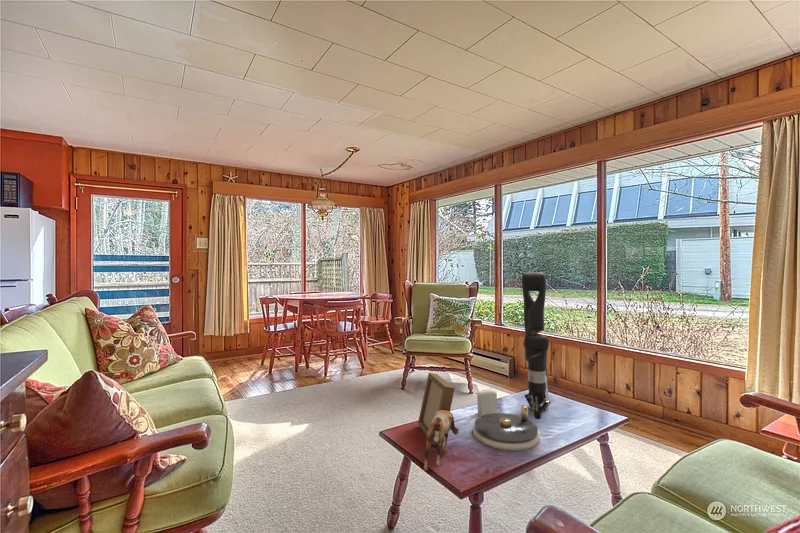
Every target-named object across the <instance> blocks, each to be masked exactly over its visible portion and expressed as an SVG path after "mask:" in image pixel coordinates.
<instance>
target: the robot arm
mask: <svg viewBox="0 0 800 533" xmlns="http://www.w3.org/2000/svg"><path fill="white" fill-rule="evenodd" d="M521 287H522V295H523V298H522V299H523V322H524V323H523V325H524V334H525V336H524V339H523V347H524V356H525V360H526V361H527V362H528V365H527V366H528V370H527V371H528V372H527V389H528V393H526V394H524V397H525V399H526V401H527V404H528V409H531V410H533V416H534V419H535V420H538V421H539V420H540V419H541V418H542V412H544V411H547V410H548V408H549V406H550V405H551V401H550V400H549V389H548V373H547V370H548V369H547V364H548V363H547V362H548V349H549V346H550V340H549V338H548V337H547V336H546V335H543V334H542V335H541V334H539V333H540V332H542V331H544V329H545V317H544V316H545V315H544V314H545V313H544V312H545V302H546V292H547V289H546V288H547V277H546V274H545V273H544V272H539V271H538V272H537V271H536V272H524V273H522V276H521ZM531 292H538V294H537V297H536V299H535V300H534V299H533V297H532V294H531Z"/></svg>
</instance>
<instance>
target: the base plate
mask: <svg viewBox="0 0 800 533" xmlns="http://www.w3.org/2000/svg"><path fill="white" fill-rule="evenodd" d="M472 434H473V437H474V438H475V439H476V440H477V441H478V442H480V443H481V444H484V445H486V446H488V447H491V448H493V449H498V450H504V451H524V450H529V449H532V448H534V447H536V446H538V445H539V444H540V443H541V432H540V430H539V429H538V435H537V436H536V438H534V439H533V440H531V441H527V442H523V443H504V442H498V441H494V440H491V439H488V438H486V437H484V436H482V435H481V434H479V433H478V432H477V431H476V429H475V422H474V424H473V425H472Z"/></svg>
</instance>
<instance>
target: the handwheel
mask: <svg viewBox="0 0 800 533" xmlns="http://www.w3.org/2000/svg"><path fill="white" fill-rule="evenodd" d="M520 412H521V414H520V415H517V414H512V413H505V412H502V413H501V412H500V413H499V412H497V413H493V414H486V415H480V416H479V417H477V418H476V419H475V421H474V423H475V429H476V431H477V432H478V433H479V434H481V435H482V436H484V437H486V438H488V439H491V440H494V441H498V442H504V443H523V442H527V441H531V440H533V439H534V438H536V436H537V435H538V430H539V429H538V425H536V423H535V422H533V421H532V420H530V419H529V405H524V404H523V405H521V406H520Z"/></svg>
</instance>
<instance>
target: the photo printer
mask: <svg viewBox="0 0 800 533" xmlns="http://www.w3.org/2000/svg"><path fill="white" fill-rule="evenodd" d="M476 394H477V395H476V396H477V397H476V398H477V415H479V416H483V415H486V414H493V413H498V396H497V391H496V390H495V389H492V388H484V389H481V390H479V391H477V393H476Z"/></svg>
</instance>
